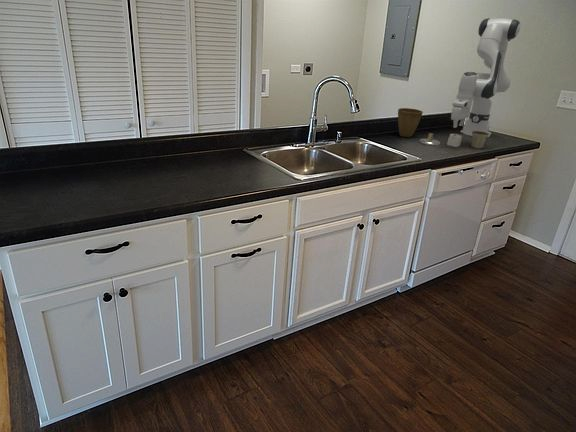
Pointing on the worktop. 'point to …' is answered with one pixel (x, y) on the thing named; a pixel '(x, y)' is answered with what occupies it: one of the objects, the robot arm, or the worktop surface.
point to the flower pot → (478, 139)
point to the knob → (454, 140)
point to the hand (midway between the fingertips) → (457, 126)
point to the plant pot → (408, 121)
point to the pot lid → (429, 140)
